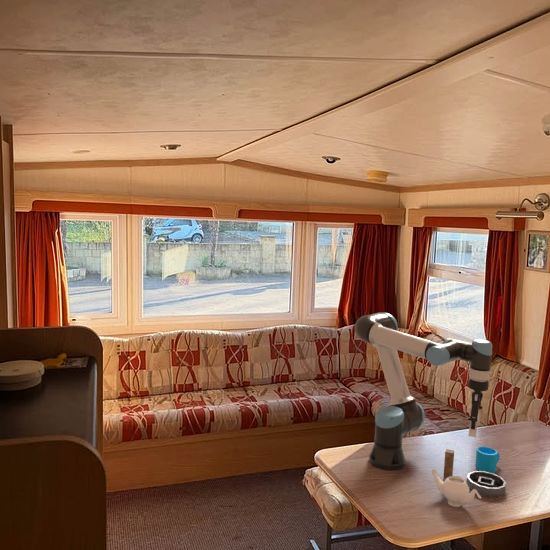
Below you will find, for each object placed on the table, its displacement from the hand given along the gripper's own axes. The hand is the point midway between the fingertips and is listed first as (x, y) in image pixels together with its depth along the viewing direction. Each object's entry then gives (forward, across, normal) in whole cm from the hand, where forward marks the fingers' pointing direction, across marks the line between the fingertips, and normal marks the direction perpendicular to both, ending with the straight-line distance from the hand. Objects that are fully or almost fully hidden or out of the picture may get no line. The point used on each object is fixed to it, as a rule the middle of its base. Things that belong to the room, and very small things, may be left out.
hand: (473, 430), depth 215 cm
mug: (+21, +15, -6) cm, 27 cm away
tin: (+21, -4, -7) cm, 22 cm away
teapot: (+21, -22, +3) cm, 31 cm away
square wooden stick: (+21, -6, +8) cm, 23 cm away
